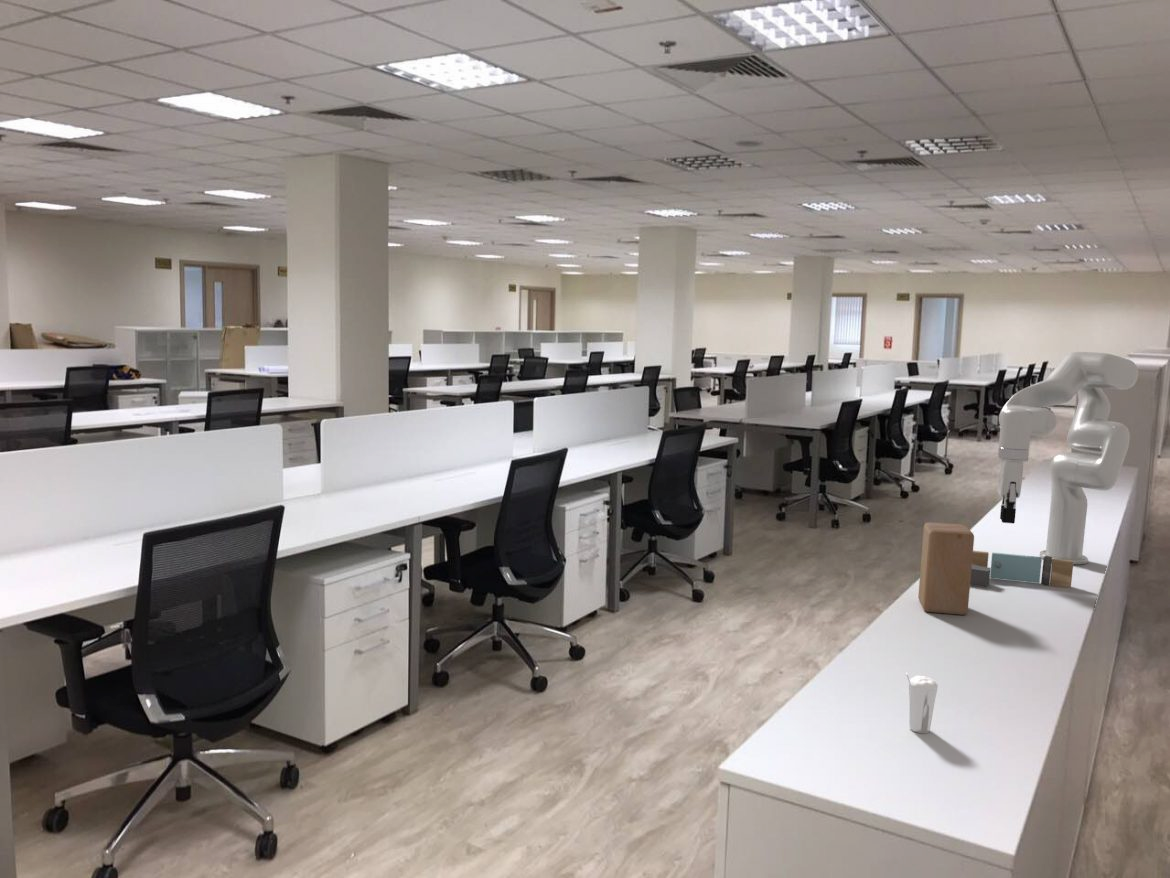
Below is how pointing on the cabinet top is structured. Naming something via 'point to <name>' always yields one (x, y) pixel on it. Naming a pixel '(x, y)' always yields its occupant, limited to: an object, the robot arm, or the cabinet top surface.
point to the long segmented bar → (1058, 570)
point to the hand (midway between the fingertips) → (1007, 520)
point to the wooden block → (946, 568)
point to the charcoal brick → (980, 576)
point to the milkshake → (921, 702)
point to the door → (1015, 567)
